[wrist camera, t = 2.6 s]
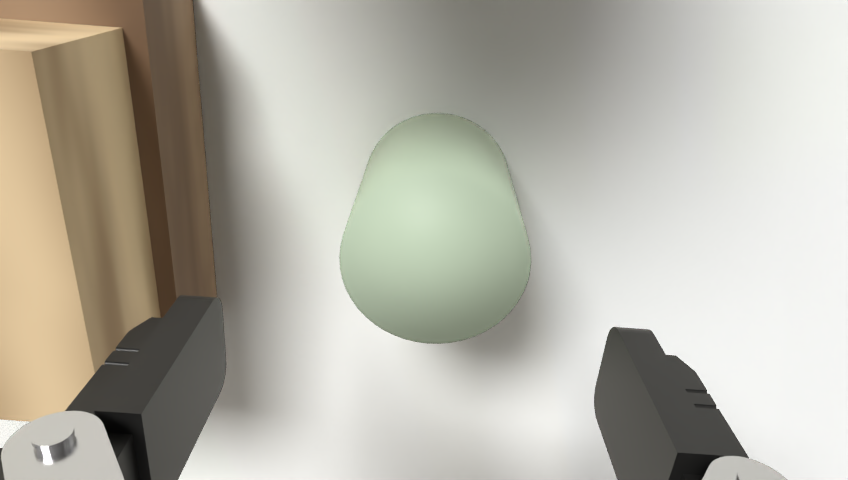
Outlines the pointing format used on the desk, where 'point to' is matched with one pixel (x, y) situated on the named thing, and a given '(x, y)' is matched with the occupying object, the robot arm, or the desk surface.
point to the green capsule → (435, 233)
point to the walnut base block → (157, 128)
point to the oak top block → (67, 212)
